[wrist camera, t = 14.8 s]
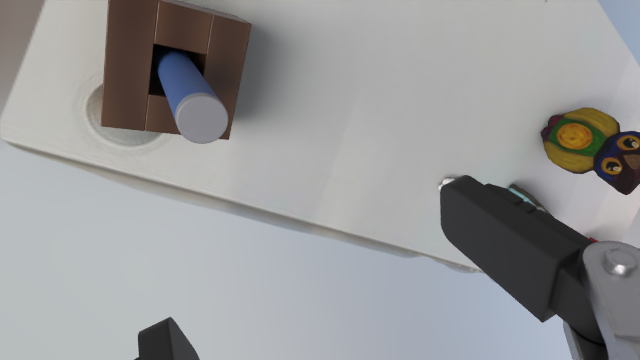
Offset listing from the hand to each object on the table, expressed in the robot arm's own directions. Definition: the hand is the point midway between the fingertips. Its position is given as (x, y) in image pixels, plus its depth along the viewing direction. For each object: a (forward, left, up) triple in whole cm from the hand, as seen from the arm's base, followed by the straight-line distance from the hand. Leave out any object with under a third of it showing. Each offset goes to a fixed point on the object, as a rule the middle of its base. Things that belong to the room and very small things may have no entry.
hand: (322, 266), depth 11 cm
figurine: (+60, 0, -32) cm, 67 cm away
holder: (0, -1, -31) cm, 31 cm away
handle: (0, -1, -31) cm, 31 cm away
